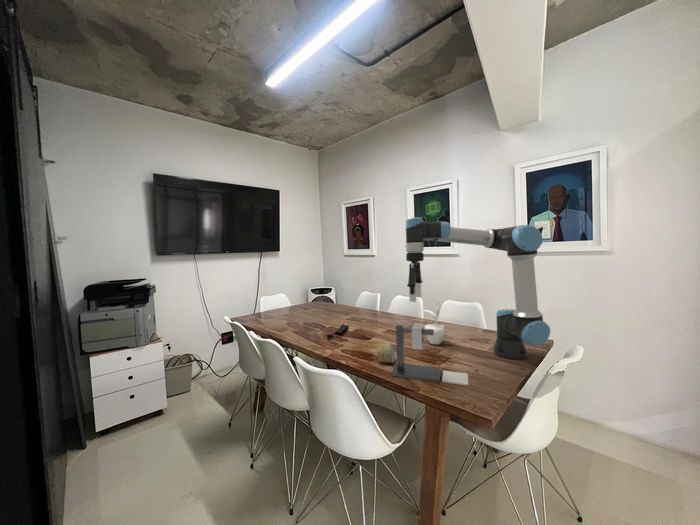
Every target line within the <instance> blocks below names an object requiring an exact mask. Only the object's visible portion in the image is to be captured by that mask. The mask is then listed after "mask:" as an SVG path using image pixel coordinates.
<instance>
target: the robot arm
mask: <svg viewBox="0 0 700 525" xmlns="http://www.w3.org/2000/svg"><path fill="white" fill-rule="evenodd" d="M405 238H406V240H405V241H406V242H405V245H404V248H406V254H405V255H406V256H405V258H406V261H407V262H410V263H409V267H408V268H409V273H408V282H407V285H406V286H407V287H408V289H409V290H408V291H409V292H408V293H409V294H408V295H409V298H408V299H409V302H410V303H417V298H422V283H423V280H422V272H421V270H422V269H421V262H423V261H424V258H425V257H424V255H425V254H424V253H423V252H424V250H425V248H424V241H425V242H426V241H430V242H431V241H432V242H443V243H453V244H464V245H474V246H483V247H484V248H485V249H491V250H492V249H494V250H497V251H504V252H506V253H507V254H506V255H507V257H508V258H509V259H511V266H512V268H511V270H512V278H513V279H512V280H513V289H514V300H515V301H514V302H515V309H514V308H513V309H512V308H511V309H509V308H508V309H506V308H504V309H499V310H498V309H497V311H496V339H495V342H494V345H493V347H492V348H493V350H492V351H493V352H492V353H493V354H494V355H496V356H498V357H501V358H504V359H508V360H525V359H527V358H528V351H527V350H528V349H527V348H526V345H525V344H528V345H531V346H540V345H543V344H545V342H546V341H547V340H549V337H550V336H551V329H550V326H549V325H548V323H547V322H545V321H544V318H543V317H544V315H543V313H542V312H541V311H540V310H539V306H538V303H539V302H538V295H537V292H538V291H537V283H536V282H537V281H536V270H535V257H536V256H537V255H538V249H540V248H541V245H542V244H543V235H542V232H541V231H540V229H538V228H536V226H533V225H529V224H523V225H522V224H521V225H515V226H511V227H509V226H508V227H504V228H503V227H502V228H497V229H496V228H494V229H493V228H488V229H485V230H483V229H482V230H481V229H472V228H463V227H454V226H453V227H452V226H451V223H450V222H448V221H424V219H423V217H419V216H417V217H409V218H406V221H405Z"/></svg>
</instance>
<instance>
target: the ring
mask: <svg viewBox="0 0 700 525" xmlns="http://www.w3.org/2000/svg"><path fill="white" fill-rule="evenodd" d="M411 328H412V334H411V348H412V349H413V350H420V351H422V350H423V348H424V345H425V335H423V334H422V330H423V329H425V323H424V322H414V324H413V326H412V327H411Z"/></svg>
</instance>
